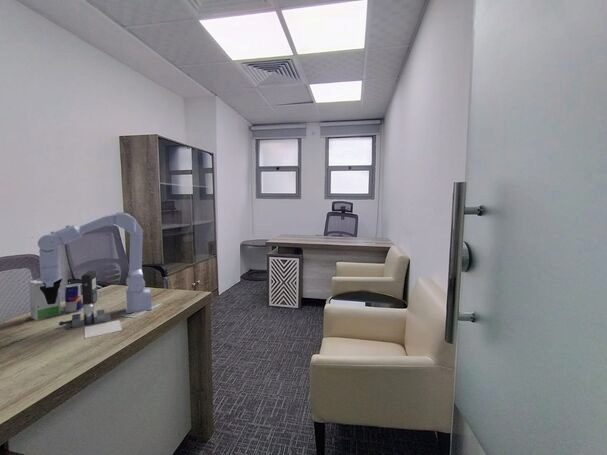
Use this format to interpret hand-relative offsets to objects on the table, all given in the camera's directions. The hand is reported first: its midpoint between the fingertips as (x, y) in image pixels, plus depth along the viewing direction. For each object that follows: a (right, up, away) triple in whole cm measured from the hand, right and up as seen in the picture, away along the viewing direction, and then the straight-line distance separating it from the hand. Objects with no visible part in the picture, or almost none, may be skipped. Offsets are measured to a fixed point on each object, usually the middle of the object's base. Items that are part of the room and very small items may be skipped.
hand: (52, 301), depth 108 cm
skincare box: (-12, -9, +10) cm, 18 cm away
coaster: (+21, -11, -2) cm, 24 cm away
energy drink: (-4, -9, +15) cm, 18 cm away
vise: (+10, -10, +3) cm, 15 cm away
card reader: (-4, -8, +25) cm, 27 cm away
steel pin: (+11, -9, +4) cm, 15 cm away
